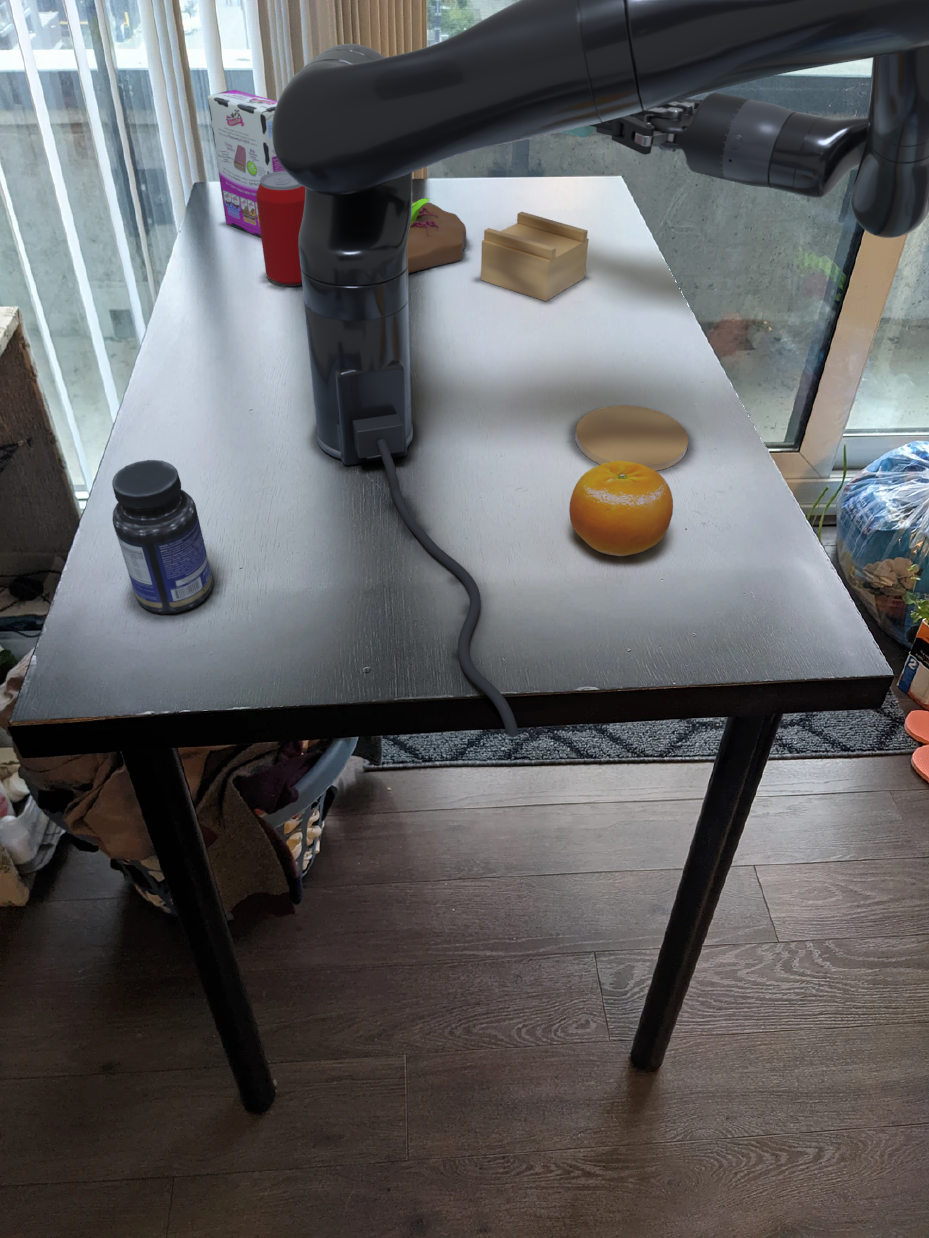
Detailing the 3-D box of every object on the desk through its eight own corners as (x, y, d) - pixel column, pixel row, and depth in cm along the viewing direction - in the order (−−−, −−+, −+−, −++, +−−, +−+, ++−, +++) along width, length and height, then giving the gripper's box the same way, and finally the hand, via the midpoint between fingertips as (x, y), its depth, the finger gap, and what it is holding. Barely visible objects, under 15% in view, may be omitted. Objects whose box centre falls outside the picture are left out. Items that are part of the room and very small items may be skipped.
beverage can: (325, 268, 123) (317, 170, 115) (313, 290, 118) (304, 190, 110) (273, 265, 123) (262, 168, 115) (260, 287, 118) (247, 187, 110)
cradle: (584, 278, 122) (589, 229, 118) (545, 301, 117) (549, 251, 112) (520, 258, 126) (523, 210, 122) (480, 280, 121) (481, 231, 117)
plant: (489, 262, 125) (492, 173, 117) (347, 284, 119) (340, 191, 112) (434, 210, 138) (433, 127, 131) (303, 227, 133) (295, 141, 125)
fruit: (623, 458, 85) (627, 421, 77) (689, 526, 83) (699, 495, 75) (551, 518, 85) (548, 487, 77) (615, 588, 83) (618, 563, 75)
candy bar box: (304, 235, 131) (292, 104, 120) (277, 245, 128) (261, 112, 117) (251, 214, 136) (235, 87, 125) (224, 224, 133) (204, 94, 122)
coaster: (707, 462, 91) (708, 455, 91) (602, 480, 89) (603, 473, 88) (656, 405, 99) (657, 398, 98) (558, 421, 96) (559, 414, 96)
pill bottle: (215, 564, 79) (191, 451, 71) (212, 613, 74) (186, 498, 67) (139, 570, 78) (107, 456, 71) (131, 620, 74) (96, 505, 66)
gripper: (704, 198, 95) (559, 161, 103) (763, 163, 103) (625, 131, 111) (719, 116, 90) (566, 84, 97) (780, 86, 98) (634, 59, 106)
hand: (598, 109), depth 104 cm, fingers closed on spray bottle, 3 cm apart
